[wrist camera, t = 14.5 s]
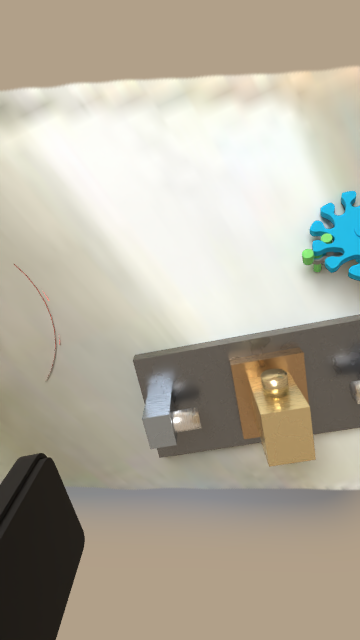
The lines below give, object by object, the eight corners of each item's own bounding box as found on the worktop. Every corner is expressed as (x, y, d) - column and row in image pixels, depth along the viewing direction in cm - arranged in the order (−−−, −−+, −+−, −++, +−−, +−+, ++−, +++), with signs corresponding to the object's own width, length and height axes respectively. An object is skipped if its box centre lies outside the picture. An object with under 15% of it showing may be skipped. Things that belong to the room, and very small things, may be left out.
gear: (402, 166, 32) (456, 249, 27) (391, 207, 37) (435, 283, 32) (285, 209, 35) (317, 291, 30) (290, 242, 40) (317, 316, 35)
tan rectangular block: (286, 356, 37) (307, 388, 30) (296, 430, 40) (317, 475, 33) (245, 363, 37) (257, 397, 31) (258, 436, 40) (271, 481, 34)
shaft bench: (392, 308, 38) (427, 326, 32) (393, 413, 42) (425, 445, 36) (134, 355, 41) (126, 379, 35) (160, 449, 45) (156, 484, 39)
